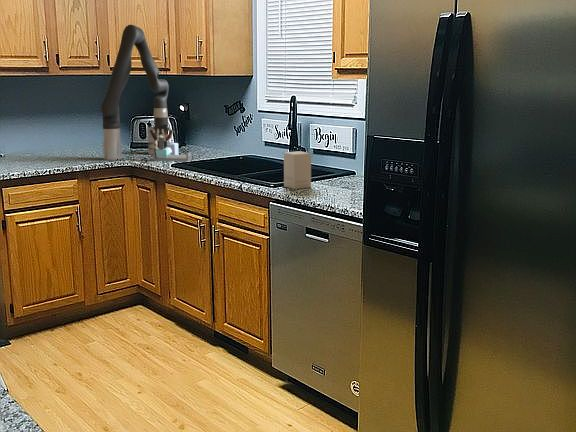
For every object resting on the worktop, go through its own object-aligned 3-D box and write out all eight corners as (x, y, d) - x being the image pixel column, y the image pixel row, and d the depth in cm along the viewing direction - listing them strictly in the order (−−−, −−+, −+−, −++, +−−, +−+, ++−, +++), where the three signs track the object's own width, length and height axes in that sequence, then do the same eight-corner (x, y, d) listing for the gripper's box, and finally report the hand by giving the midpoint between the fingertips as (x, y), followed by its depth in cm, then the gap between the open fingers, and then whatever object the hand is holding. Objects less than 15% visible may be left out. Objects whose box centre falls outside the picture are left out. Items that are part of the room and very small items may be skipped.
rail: (153, 160, 353) (153, 152, 352) (157, 159, 358) (156, 151, 357) (188, 161, 350) (187, 153, 349) (191, 159, 356) (191, 151, 355)
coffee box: (155, 155, 374) (154, 127, 370) (148, 154, 378) (146, 127, 374) (167, 153, 381) (165, 126, 378) (159, 152, 385) (158, 126, 381)
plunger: (165, 144, 362) (165, 134, 361) (167, 144, 366) (167, 134, 364) (171, 144, 362) (170, 134, 361) (173, 144, 365) (172, 134, 364)
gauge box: (161, 158, 362) (160, 144, 360) (165, 156, 369) (164, 142, 368) (174, 158, 361) (174, 144, 359) (178, 156, 368) (178, 142, 366)
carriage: (156, 157, 353) (155, 138, 350) (159, 156, 357) (158, 137, 355) (166, 157, 352) (165, 138, 349) (169, 156, 357) (168, 137, 354)
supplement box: (311, 187, 275) (312, 153, 272) (294, 189, 271) (294, 154, 267) (300, 184, 283) (300, 150, 279) (283, 186, 279) (283, 152, 275)
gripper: (175, 115, 352) (176, 147, 356) (151, 115, 354) (152, 146, 358) (170, 116, 345) (172, 148, 349) (146, 116, 347) (148, 148, 351)
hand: (162, 147), depth 353 cm, fingers closed on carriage, 2 cm apart
